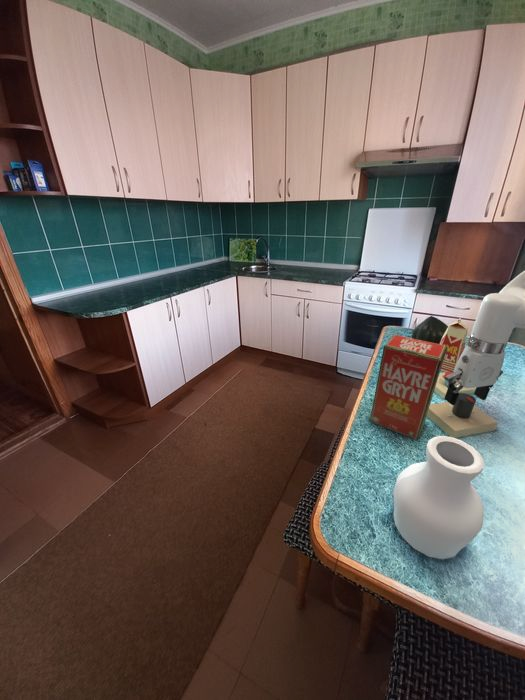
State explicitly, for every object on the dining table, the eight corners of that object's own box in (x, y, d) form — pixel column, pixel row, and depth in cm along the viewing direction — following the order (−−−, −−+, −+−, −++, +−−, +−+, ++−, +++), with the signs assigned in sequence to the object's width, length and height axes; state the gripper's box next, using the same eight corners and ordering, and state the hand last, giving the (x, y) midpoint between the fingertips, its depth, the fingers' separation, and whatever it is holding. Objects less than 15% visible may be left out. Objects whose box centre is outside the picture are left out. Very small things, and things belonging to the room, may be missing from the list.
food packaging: (367, 421, 84) (382, 344, 73) (378, 405, 91) (393, 332, 79) (417, 441, 77) (442, 359, 65) (425, 422, 83) (449, 344, 72)
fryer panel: (462, 406, 89) (465, 398, 88) (495, 430, 80) (499, 421, 78) (423, 413, 87) (425, 405, 85) (451, 439, 77) (455, 430, 76)
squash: (456, 350, 110) (458, 314, 114) (413, 346, 116) (416, 311, 119) (446, 359, 123) (448, 326, 127) (407, 355, 128) (410, 324, 132)
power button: (450, 375, 99) (451, 371, 98) (458, 381, 95) (460, 376, 95) (441, 376, 98) (442, 372, 97) (449, 382, 95) (451, 378, 94)
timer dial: (448, 409, 84) (453, 393, 81) (460, 407, 84) (467, 391, 82) (460, 419, 80) (466, 402, 77) (473, 417, 80) (480, 400, 78)
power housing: (450, 377, 104) (453, 368, 102) (474, 393, 95) (478, 383, 93) (421, 382, 102) (424, 372, 100) (443, 399, 93) (446, 388, 91)
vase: (385, 546, 54) (407, 471, 45) (388, 485, 65) (407, 415, 56) (476, 582, 49) (522, 505, 39) (462, 508, 60) (496, 435, 51)
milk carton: (456, 375, 105) (473, 324, 96) (428, 367, 110) (442, 318, 101) (461, 366, 111) (478, 317, 102) (435, 358, 116) (449, 311, 107)
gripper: (469, 354, 67) (448, 412, 75) (529, 347, 70) (502, 403, 78) (445, 341, 74) (427, 396, 81) (500, 334, 77) (478, 388, 85)
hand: (464, 399), depth 80 cm, fingers open, 9 cm apart
